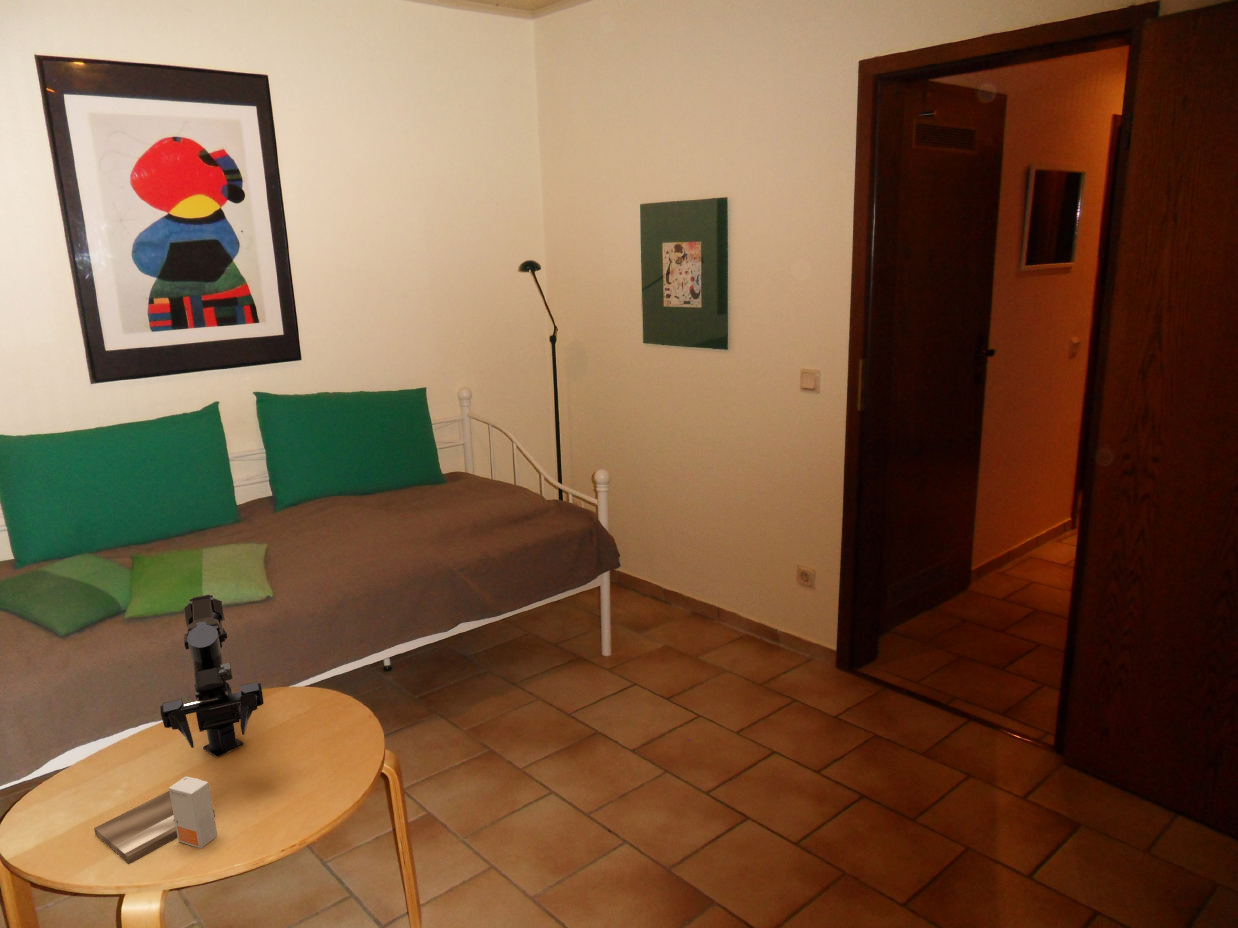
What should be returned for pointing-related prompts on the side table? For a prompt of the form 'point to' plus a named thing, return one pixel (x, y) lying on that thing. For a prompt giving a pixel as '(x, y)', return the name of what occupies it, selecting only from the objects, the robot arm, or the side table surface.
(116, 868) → the side table surface
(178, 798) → the skincare box
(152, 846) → the bent metal bracket plate
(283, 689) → the side table surface
